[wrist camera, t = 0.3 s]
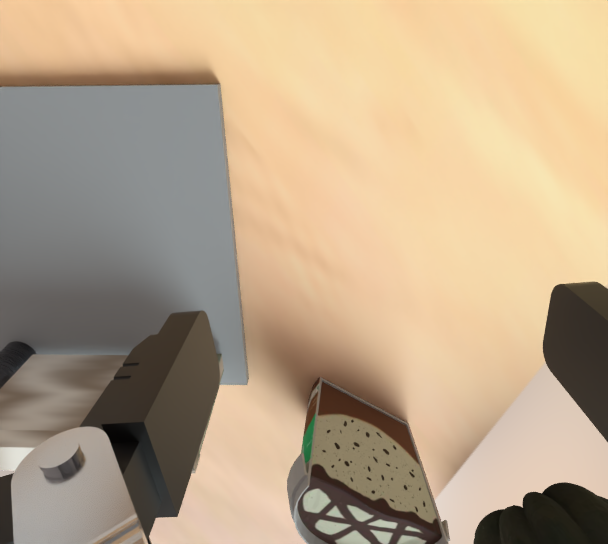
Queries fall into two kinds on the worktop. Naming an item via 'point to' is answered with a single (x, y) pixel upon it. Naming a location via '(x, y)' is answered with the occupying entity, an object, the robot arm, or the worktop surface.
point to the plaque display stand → (114, 220)
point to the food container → (360, 476)
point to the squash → (549, 519)
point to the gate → (54, 400)
